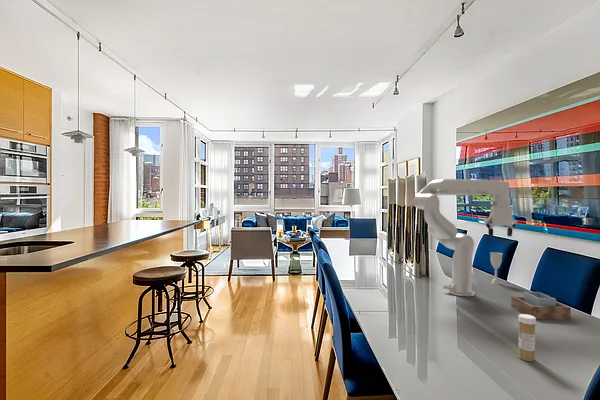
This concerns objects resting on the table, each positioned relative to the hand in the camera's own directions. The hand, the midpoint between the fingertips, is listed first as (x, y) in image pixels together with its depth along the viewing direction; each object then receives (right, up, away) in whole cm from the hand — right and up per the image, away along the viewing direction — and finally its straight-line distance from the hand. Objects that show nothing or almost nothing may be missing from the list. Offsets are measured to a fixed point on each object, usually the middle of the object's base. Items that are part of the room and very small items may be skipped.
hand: (500, 236), depth 186 cm
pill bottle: (-37, -31, -78) cm, 91 cm away
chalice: (+9, -31, +20) cm, 37 cm away
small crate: (-2, -30, -34) cm, 45 cm away
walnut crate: (-2, -31, -34) cm, 46 cm away
